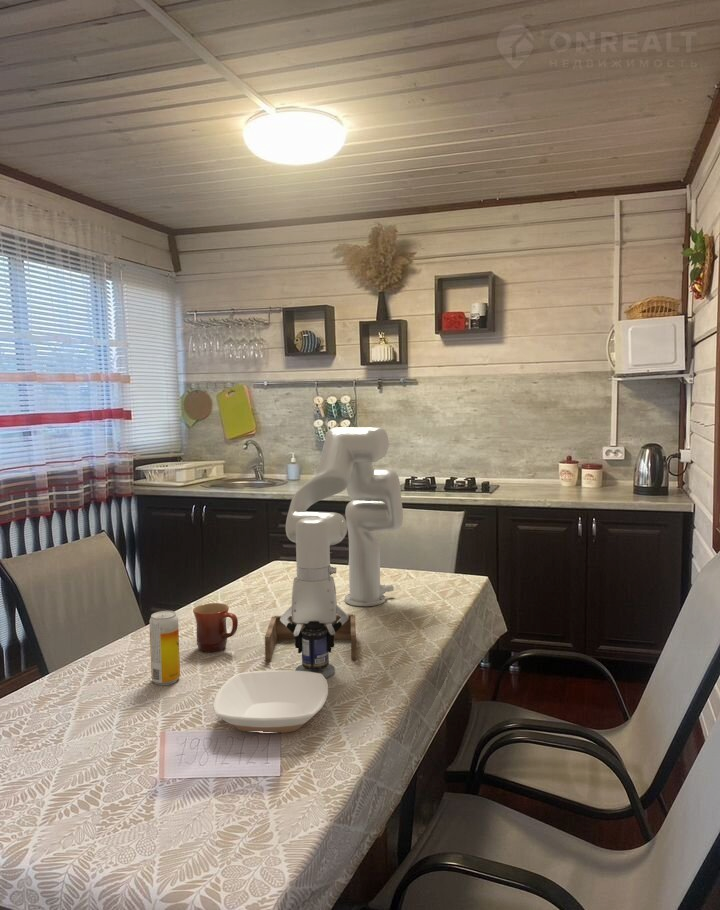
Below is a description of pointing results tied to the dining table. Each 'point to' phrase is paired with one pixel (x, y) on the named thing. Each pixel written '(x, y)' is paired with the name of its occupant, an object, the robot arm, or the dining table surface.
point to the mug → (213, 626)
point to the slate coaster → (319, 670)
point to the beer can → (164, 647)
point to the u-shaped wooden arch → (283, 633)
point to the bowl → (271, 700)
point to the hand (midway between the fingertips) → (314, 649)
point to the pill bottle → (314, 646)
